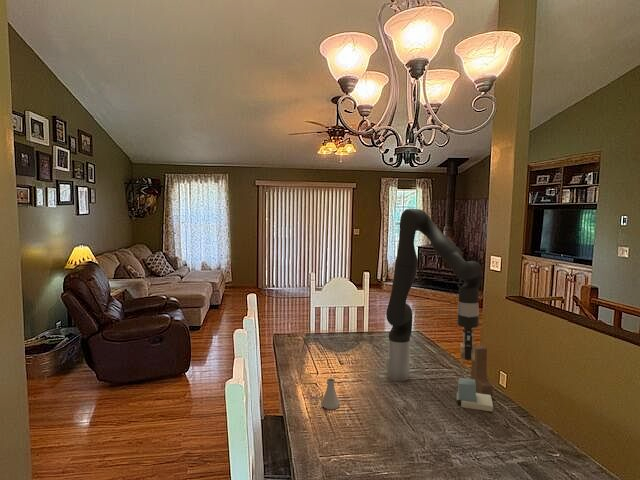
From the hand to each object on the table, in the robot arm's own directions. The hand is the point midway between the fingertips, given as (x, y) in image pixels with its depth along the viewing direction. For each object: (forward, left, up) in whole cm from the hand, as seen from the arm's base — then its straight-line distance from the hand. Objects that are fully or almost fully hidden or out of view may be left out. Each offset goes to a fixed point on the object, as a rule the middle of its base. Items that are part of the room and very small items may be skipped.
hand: (467, 357), depth 153 cm
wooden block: (+6, +12, -18) cm, 23 cm away
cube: (0, 0, -16) cm, 16 cm away
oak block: (0, 0, 0) cm, 0 cm away
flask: (-49, -20, -18) cm, 56 cm away
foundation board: (+4, 0, -18) cm, 18 cm away
